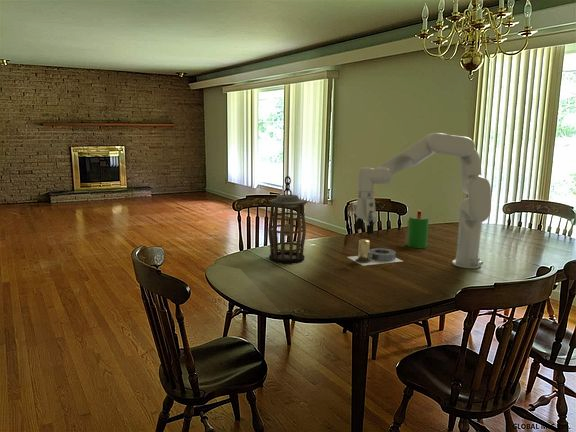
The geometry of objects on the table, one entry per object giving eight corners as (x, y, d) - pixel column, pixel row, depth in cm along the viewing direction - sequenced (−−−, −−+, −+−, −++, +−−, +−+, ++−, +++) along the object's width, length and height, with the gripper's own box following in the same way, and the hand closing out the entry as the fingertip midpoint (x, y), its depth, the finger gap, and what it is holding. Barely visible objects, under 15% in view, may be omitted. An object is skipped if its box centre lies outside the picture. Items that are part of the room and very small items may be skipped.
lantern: (314, 257, 222) (315, 175, 214) (294, 267, 205) (295, 179, 198) (280, 251, 231) (280, 173, 224) (258, 260, 215) (258, 176, 208)
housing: (400, 259, 216) (400, 253, 215) (377, 262, 211) (377, 256, 211) (385, 253, 227) (385, 247, 227) (363, 255, 223) (363, 249, 222)
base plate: (403, 263, 214) (403, 260, 214) (362, 267, 206) (362, 264, 206) (385, 255, 228) (385, 252, 228) (346, 258, 220) (346, 256, 220)
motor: (425, 244, 250) (427, 208, 247) (428, 248, 242) (431, 211, 238) (406, 243, 251) (408, 208, 248) (409, 247, 243) (411, 211, 239)
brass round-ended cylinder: (370, 261, 212) (371, 241, 210) (361, 262, 210) (362, 242, 208) (365, 258, 217) (366, 239, 215) (356, 259, 215) (356, 239, 213)
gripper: (383, 197, 201) (381, 234, 204) (363, 192, 217) (361, 227, 220) (368, 197, 198) (367, 236, 202) (349, 192, 214) (348, 228, 217)
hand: (364, 231), depth 211 cm, fingers open, 9 cm apart
